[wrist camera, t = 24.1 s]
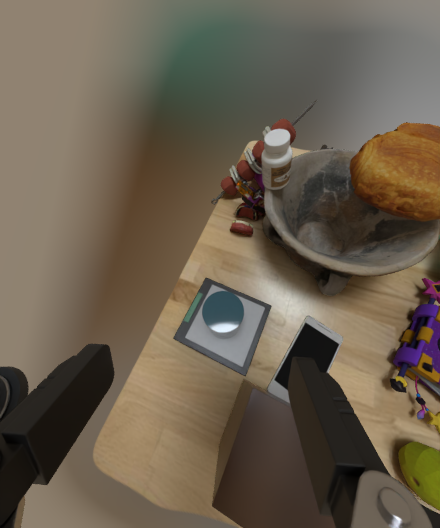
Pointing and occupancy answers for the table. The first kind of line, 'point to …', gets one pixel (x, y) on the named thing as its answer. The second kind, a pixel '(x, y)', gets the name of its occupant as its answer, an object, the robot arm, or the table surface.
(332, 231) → the bowl
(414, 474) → the fruit
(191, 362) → the table surface
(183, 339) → the scale
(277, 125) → the skewer
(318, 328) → the smartphone
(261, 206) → the toy car
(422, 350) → the book
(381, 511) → the robot arm
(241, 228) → the dentures model
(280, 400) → the stand
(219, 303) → the jar
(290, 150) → the pill bottle
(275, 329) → the table surface
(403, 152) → the bread loaf
